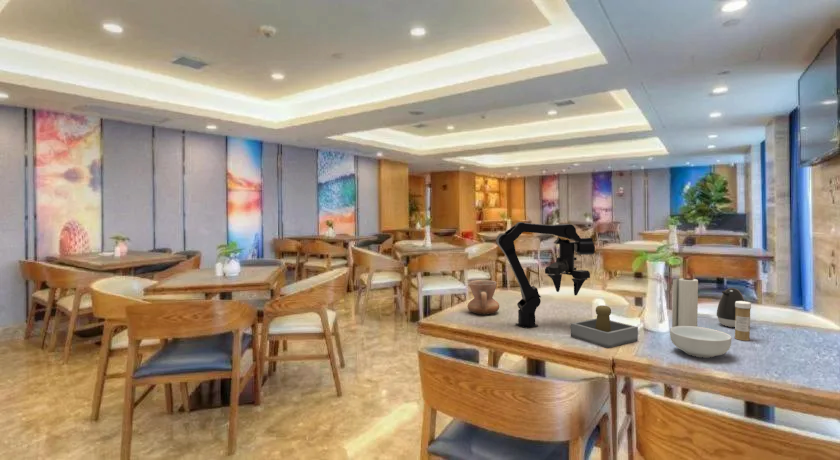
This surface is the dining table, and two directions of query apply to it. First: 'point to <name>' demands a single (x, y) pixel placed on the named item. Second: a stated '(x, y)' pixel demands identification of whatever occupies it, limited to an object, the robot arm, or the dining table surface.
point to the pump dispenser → (728, 306)
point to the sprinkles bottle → (742, 320)
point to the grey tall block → (685, 302)
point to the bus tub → (604, 333)
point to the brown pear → (603, 318)
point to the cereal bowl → (700, 341)
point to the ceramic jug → (483, 297)
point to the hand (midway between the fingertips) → (566, 293)
